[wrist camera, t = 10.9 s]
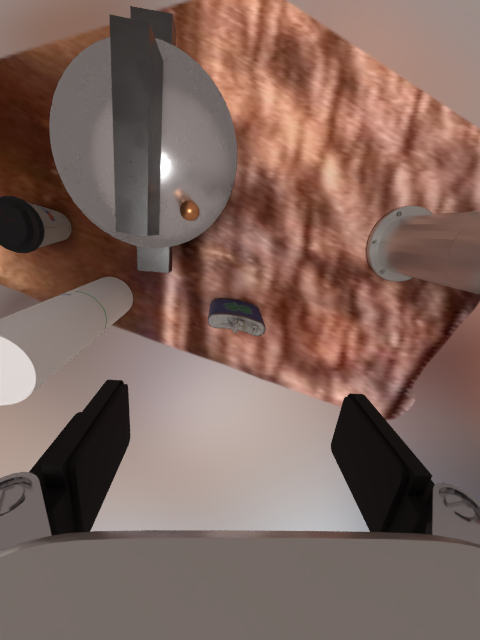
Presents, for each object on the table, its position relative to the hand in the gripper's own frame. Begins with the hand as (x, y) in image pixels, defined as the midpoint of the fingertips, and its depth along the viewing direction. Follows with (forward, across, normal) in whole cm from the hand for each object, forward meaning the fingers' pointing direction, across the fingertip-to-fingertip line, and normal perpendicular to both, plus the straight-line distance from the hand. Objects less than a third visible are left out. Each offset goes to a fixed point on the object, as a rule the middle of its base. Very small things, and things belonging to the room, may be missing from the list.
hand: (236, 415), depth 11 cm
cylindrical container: (+36, +20, +6) cm, 42 cm away
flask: (+37, -2, +6) cm, 37 cm away
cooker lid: (+24, +10, -14) cm, 30 cm away
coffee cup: (+36, +28, -5) cm, 46 cm away
